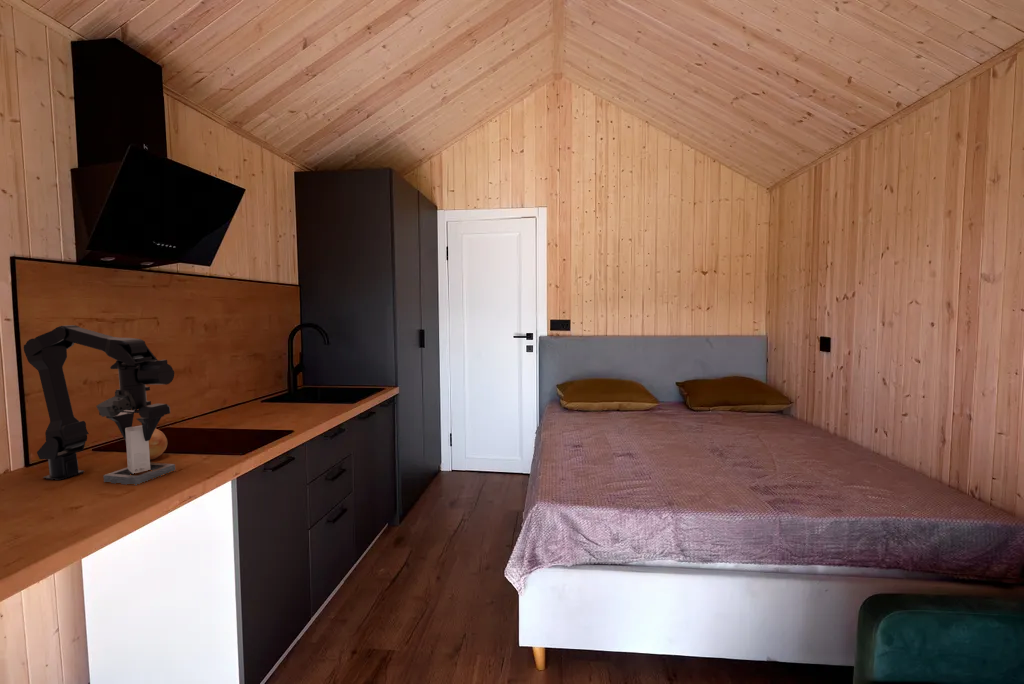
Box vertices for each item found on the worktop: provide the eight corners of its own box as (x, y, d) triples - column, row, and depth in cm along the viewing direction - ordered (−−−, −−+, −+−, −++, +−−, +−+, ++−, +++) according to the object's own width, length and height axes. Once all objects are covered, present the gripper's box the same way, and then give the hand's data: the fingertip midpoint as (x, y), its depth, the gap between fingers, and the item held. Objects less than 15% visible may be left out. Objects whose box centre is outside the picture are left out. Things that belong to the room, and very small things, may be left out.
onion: (121, 464, 149) (118, 432, 148) (147, 454, 159) (144, 424, 158) (151, 464, 148) (148, 432, 147) (175, 454, 158) (173, 423, 157)
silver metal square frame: (103, 482, 134) (103, 475, 133) (144, 468, 145) (144, 461, 144) (136, 485, 131) (135, 478, 130) (175, 470, 142) (174, 464, 141)
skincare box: (151, 470, 137) (148, 428, 136) (132, 474, 134) (129, 431, 133) (145, 465, 141) (142, 424, 140) (127, 469, 138) (124, 427, 137)
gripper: (75, 388, 130) (80, 446, 131) (129, 390, 125) (134, 450, 127) (118, 382, 141) (122, 435, 142) (169, 383, 136) (173, 438, 137)
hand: (137, 440), depth 137 cm, fingers closed on skincare box, 7 cm apart
